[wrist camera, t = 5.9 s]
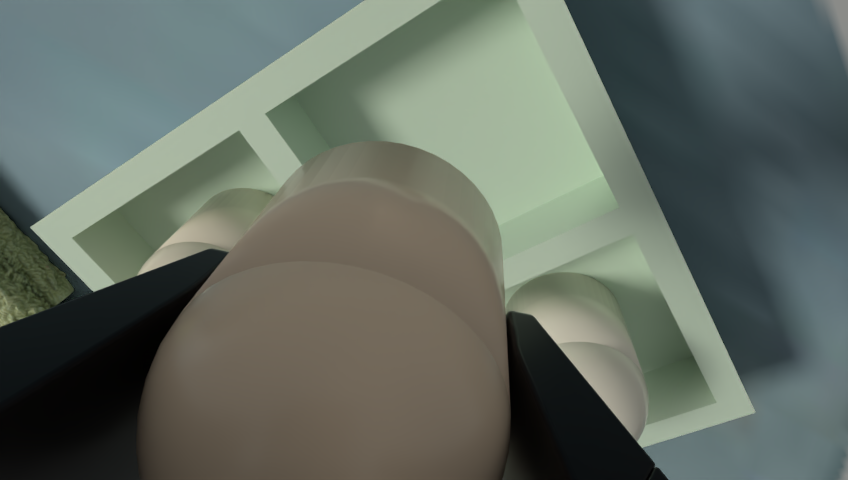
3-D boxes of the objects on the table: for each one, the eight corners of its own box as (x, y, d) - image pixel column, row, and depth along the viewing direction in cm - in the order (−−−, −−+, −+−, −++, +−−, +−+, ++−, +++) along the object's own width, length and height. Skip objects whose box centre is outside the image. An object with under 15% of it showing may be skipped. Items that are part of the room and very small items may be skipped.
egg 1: (333, 262, 22) (282, 375, 16) (246, 307, 23) (172, 424, 18) (261, 167, 20) (176, 256, 15) (172, 220, 21) (65, 320, 16)
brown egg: (473, 367, 12) (461, 744, 6) (262, 324, 12) (68, 663, 6) (530, 170, 10) (588, 481, 4) (273, 116, 10) (-3, 359, 4)
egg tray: (721, 351, 23) (755, 412, 20) (354, 479, 29) (339, 541, 26) (511, -98, 16) (516, -103, 13) (89, 188, 22) (30, 227, 19)
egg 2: (639, 341, 22) (688, 477, 17) (534, 380, 23) (548, 517, 18) (591, 253, 20) (629, 371, 15) (482, 301, 22) (480, 424, 16)
